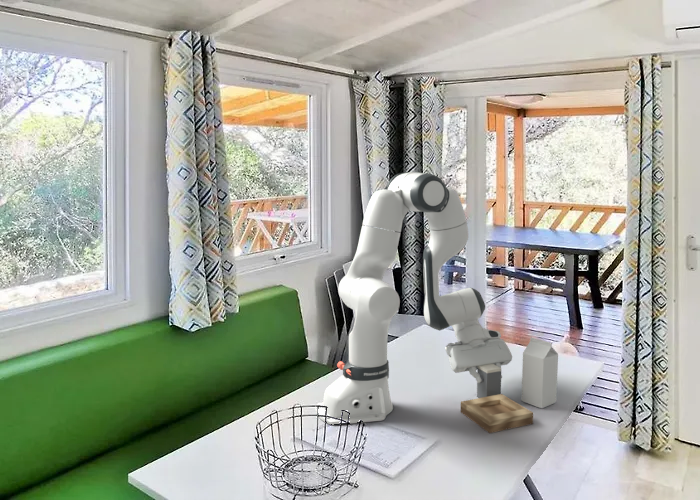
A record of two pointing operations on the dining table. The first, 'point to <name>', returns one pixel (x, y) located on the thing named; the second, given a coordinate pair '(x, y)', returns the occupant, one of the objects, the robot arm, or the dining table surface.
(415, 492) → the dining table surface
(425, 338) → the dining table surface
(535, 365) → the milk carton
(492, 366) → the plain greyish beige box
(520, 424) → the square wooden tray
